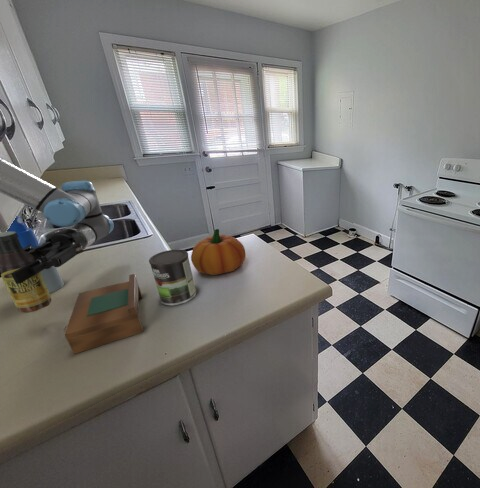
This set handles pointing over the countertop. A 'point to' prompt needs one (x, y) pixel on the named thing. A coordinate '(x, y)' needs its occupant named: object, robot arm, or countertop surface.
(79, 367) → the countertop surface
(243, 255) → the pumpkin
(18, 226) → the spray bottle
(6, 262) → the sauce bottle
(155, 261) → the large food can
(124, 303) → the brown wooden box
